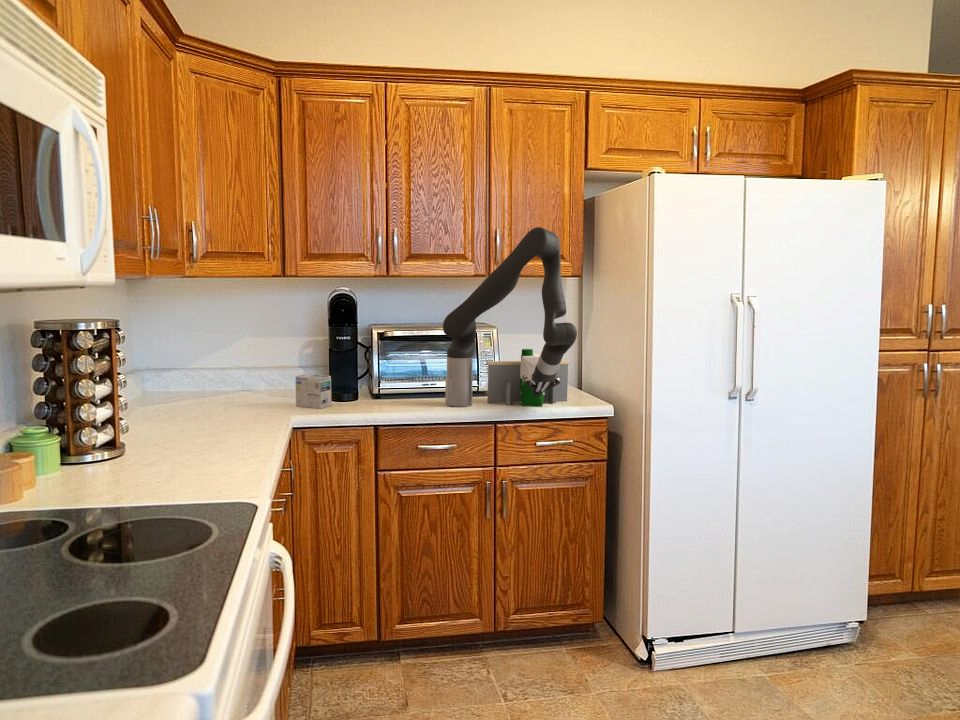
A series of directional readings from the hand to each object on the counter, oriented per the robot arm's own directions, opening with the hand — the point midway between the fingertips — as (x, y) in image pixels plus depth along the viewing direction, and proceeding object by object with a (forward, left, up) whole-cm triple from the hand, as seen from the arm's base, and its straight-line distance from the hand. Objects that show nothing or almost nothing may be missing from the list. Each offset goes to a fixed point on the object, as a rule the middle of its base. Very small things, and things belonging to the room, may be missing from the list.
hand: (536, 395), depth 257 cm
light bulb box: (-77, +13, -5) cm, 78 cm away
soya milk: (0, +6, -5) cm, 8 cm away
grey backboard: (0, +10, -5) cm, 11 cm away
